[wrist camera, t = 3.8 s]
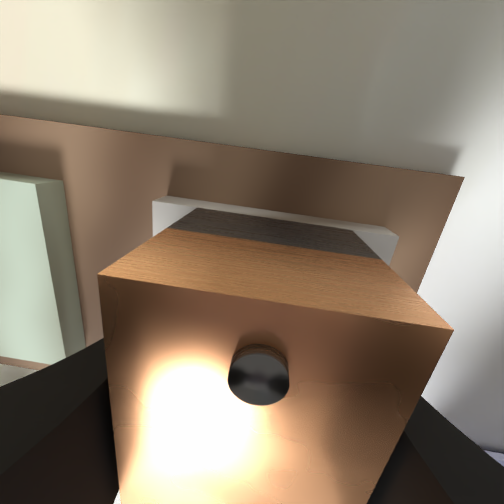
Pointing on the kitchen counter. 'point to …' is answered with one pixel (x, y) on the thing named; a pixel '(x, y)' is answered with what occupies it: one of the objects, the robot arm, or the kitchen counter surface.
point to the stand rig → (170, 215)
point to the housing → (260, 362)
